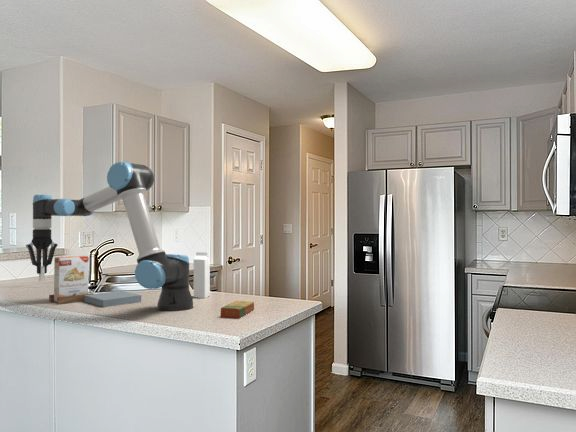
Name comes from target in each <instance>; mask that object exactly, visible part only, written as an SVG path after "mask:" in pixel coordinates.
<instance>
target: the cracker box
mask: <svg viewBox="0 0 576 432" xmlns="http://www.w3.org/2000/svg"><path fill="white" fill-rule="evenodd" d="M53 259H54V260H53V261H54V267H53V268H54V272H53V277H54V279H53V281H54V282H53V287H54V288H53V289H54V290H53V294H54V301H53V302H54V303H57V297H65V296H73V295H82V294H89V269H90V268H89V267H90V265H89V264H90V263H89V261H90V259H89V256H87V255H78V256H77V255H76V256H75V255H73V256H71V255H70V256H69V255H68V256H57V257H54V258H53Z"/></svg>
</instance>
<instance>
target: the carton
mask: <svg viewBox="0 0 576 432" xmlns="http://www.w3.org/2000/svg"><path fill="white" fill-rule="evenodd" d="M253 310H254V311H255V302H254V301H247V300H246V301H245V300H244V301H243V300H236V301H233V302H231V303H229V304H227V305H225V306H222V307H221V308H220V318H224V319H225V318H226V319H242V318H243V317H245V316H247V315H249V314H251V313H252V312H251V311H253ZM254 311H253V312H254ZM250 312H251V313H250ZM248 313H249V314H248ZM246 314H247V315H246ZM241 317H242V318H241Z"/></svg>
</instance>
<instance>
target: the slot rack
mask: <svg viewBox="0 0 576 432" xmlns="http://www.w3.org/2000/svg"><path fill="white" fill-rule="evenodd" d="M90 294H94V293H93V292H90V293H88V294H82V295H73V296H65V297H57V302H56V304H57V305H65V304H73V303H79V302H84V295H90ZM48 298H49V302H50V303H51V302H55V301H54V293H53V294H49V295H48Z"/></svg>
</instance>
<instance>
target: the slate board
mask: <svg viewBox="0 0 576 432" xmlns="http://www.w3.org/2000/svg"><path fill="white" fill-rule="evenodd" d="M89 294H90V293H89ZM83 302H85V303H88V304H92V305H95V306H98V307H102V308H107V307H114V306H120V305H127V304H136V303H142V295H141V294H136V293H133V292H128V291H123V290H118V291H117V290H116V291H108V292H101V293H100V292H99V293H93V294H90V295H84V301H83Z"/></svg>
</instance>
